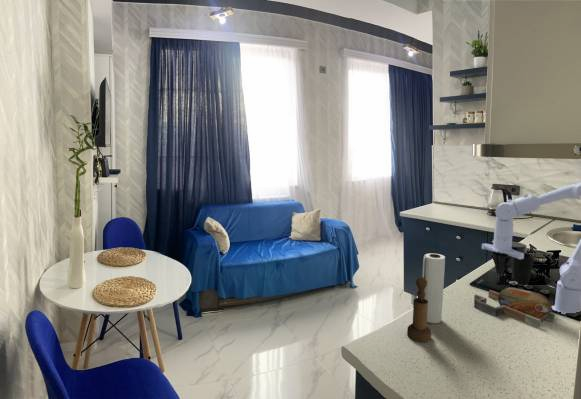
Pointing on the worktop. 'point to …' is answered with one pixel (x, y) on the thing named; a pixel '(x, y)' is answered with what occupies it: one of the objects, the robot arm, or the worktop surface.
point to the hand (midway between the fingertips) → (499, 273)
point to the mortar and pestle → (420, 315)
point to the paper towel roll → (434, 285)
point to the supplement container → (517, 247)
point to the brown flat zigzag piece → (507, 310)
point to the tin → (525, 302)
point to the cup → (522, 268)
